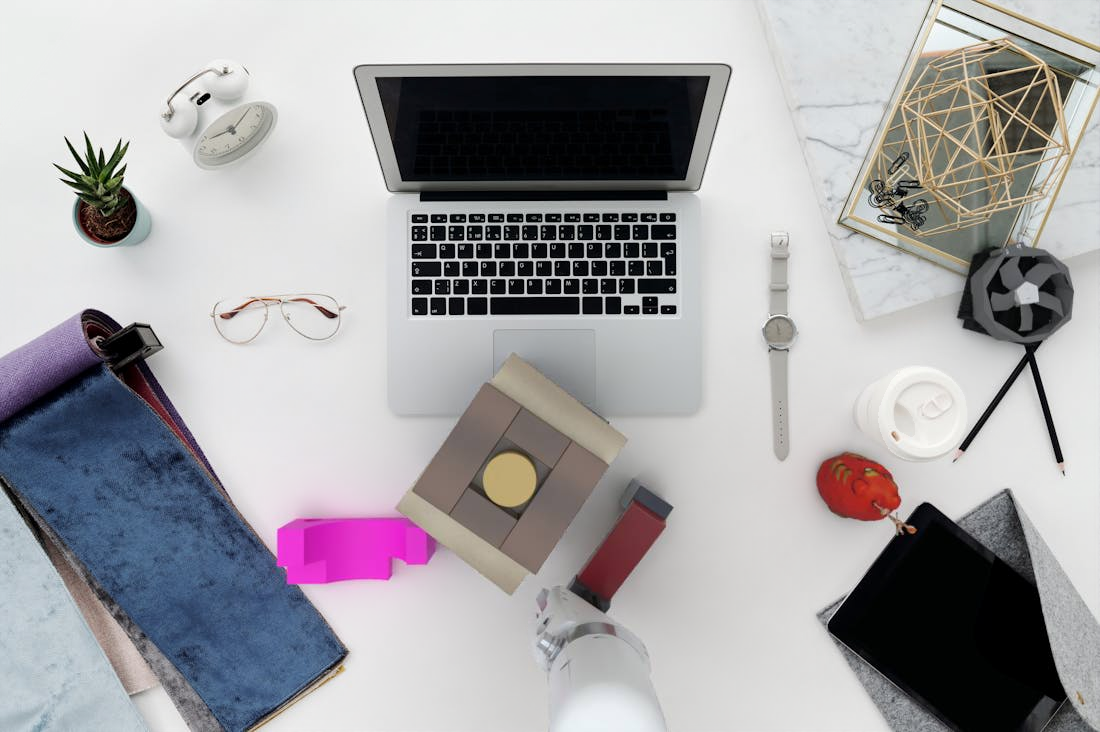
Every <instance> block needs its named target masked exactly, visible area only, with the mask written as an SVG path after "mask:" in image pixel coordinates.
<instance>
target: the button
mask: <svg viewBox="0 0 1100 732" xmlns="http://www.w3.org/2000/svg"><path fill="white" fill-rule="evenodd" d="M536 482H537V472H536V467H535V465H534V463H533V461H532V460H531V459H530V458H529V457H528V456H527V455H526V454H524V453H522V452H520V451H516V450H506V451H503V452H500V453H499V454H497V455H496V456H494V457H493V458H492V459H491V461H490V462H489V464H488V465H487V467H486V469H485V471H484V474H483V486H484V489H485V492H486V494H487V495H488V497H489V498H490V499H491V500H492V501H493V502H495V503H497V504H498V505H501V506H505V507H515V506H518V505H521V504H523V503H525V502H526V501H527V500H528V499H529V498H530V497H531V496H532V494H533V493H534V490H535V487H536Z"/></svg>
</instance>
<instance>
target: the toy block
mask: <svg viewBox="0 0 1100 732" xmlns="http://www.w3.org/2000/svg"><path fill="white" fill-rule="evenodd" d="M435 554H436V539H435V538H433V537H432V536H431V535H429V534H428V533H427V532H425V531H424V530H423V529H421V528H420V527H419V526H417V525H416V524H415V523H414V522H412V521H411V520H410V519H408V518H407V517H406V516H404V517H402V516H401V517H341V518H340V517H337V518H336V517H334V518H333V517H332V518H331V517H329V518H325V517H324V518H296V519H294V520H291V521H290V522H288V523H287V524H284V525H282V526H280V527H279V528H276V567H277V568H286V585H328V584H332V583H338V582H339V583H340V582H345V581H347V582H348V581H360V580H378V581H389V580H390V579H391V578H392V577H393V558H394V559H398V560H400V561H403V562H405V564H406V566H427V565H428V564H429V562H430V561H431V559H432V558H433V556H434V555H435Z"/></svg>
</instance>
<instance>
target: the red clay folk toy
mask: <svg viewBox="0 0 1100 732" xmlns="http://www.w3.org/2000/svg"><path fill="white" fill-rule="evenodd" d="M885 467H886V466H884V465H883V464H880V463H879V462H877V461H875V460H872V459H869V458H867V457H866V456H863V455H862V454H858V453H854V452H850V451H845V452H843V453H841V454H840V455H838V456H833V457H831V458H828V459H826V460H825V461H823V462H822V464H821V465H820V468H819V470H818V472H817V474H816V479H815V480H816V488H817V491H818V493H819V495H820V497H821V499H822V500H823V502H824V503H825V504H826V505H827V508H828V509H829V511H830V512H831V513H833V514H835V515H836V516H838V517H840V518H842V519H852V520H858V521H861V522H876V521H877V522H878V521H881V520H884V519H885V518H886V517H888V518H889V519H890V520H891V522H893V524H894V525H895V536H896V537H898V536H899V533H900V535H905V532H904V531H903V530H902V527H905V529H906V530H907V532H908V533H909V534H915V533H916V532H917V529H916V528H915V526H913V525H910V524H906V523H905V522H903V521H902V520H900V519H899V517H898V516H899V515H898V514H899V513H898V512H895V517H894V516H892V515H891V514H892V513H893V512H894V511H896V510H897V509H898V508H900V506H901V504H902V498H901V496H900V495H899V487H898V484H897V483H896V482H895V481H894V477H893V475H892V473H891V472H890V471H889V470H888V469H887V468H885Z"/></svg>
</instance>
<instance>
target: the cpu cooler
mask: <svg viewBox="0 0 1100 732" xmlns="http://www.w3.org/2000/svg"><path fill="white" fill-rule="evenodd" d="M962 293H963V294H962V295H961V300H960V302H959V307H958V310H957V316H956V318H957V319H958V320H959V319H960V320H961V321H962V320H963V324H962V326H961V327H962V329H964V330H969V331H972V332H975V333H979V334H982V335H985V336H988V337H992V338H994V339H995V340H996V341H1002V342H1003V341H1004V342H1011V343H1013V344H1018V345H1021V346H1024V347H1032V346H1039V342H1040V341H1046V340H1048V339H1049V337H1051V336H1052V335H1053V334H1055V333H1056V332H1058V331H1059V330H1060V329H1062V328H1063V327H1064V326H1065V325H1066V324H1068V323H1069V322H1070V321H1072V318H1073V317H1072V316H1073V307H1074V297H1075V289H1074V286H1073V281H1072V277H1071V273H1070V269H1069V267H1068V266H1067V265H1066V264H1065V263H1064V262H1062V261H1060V260H1059V259H1058V258H1057V257H1056V256H1054V255H1053V254H1052V253H1050V252H1049V251H1048V250H1046V249H1043V248H1037V247H1032V246H1028V245H1026V243H1024V241H1020V242H1017V243H1013V244H1010V245H1007V246H1004V247H999V246H996V245H993V246H989V247H986V248H983V249H982V251H980V252H977V253H974V254H973V256H972V260H971V262H970V265H969V270H968V274H967V278H966V281H965V284H964V288H963V291H962Z"/></svg>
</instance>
